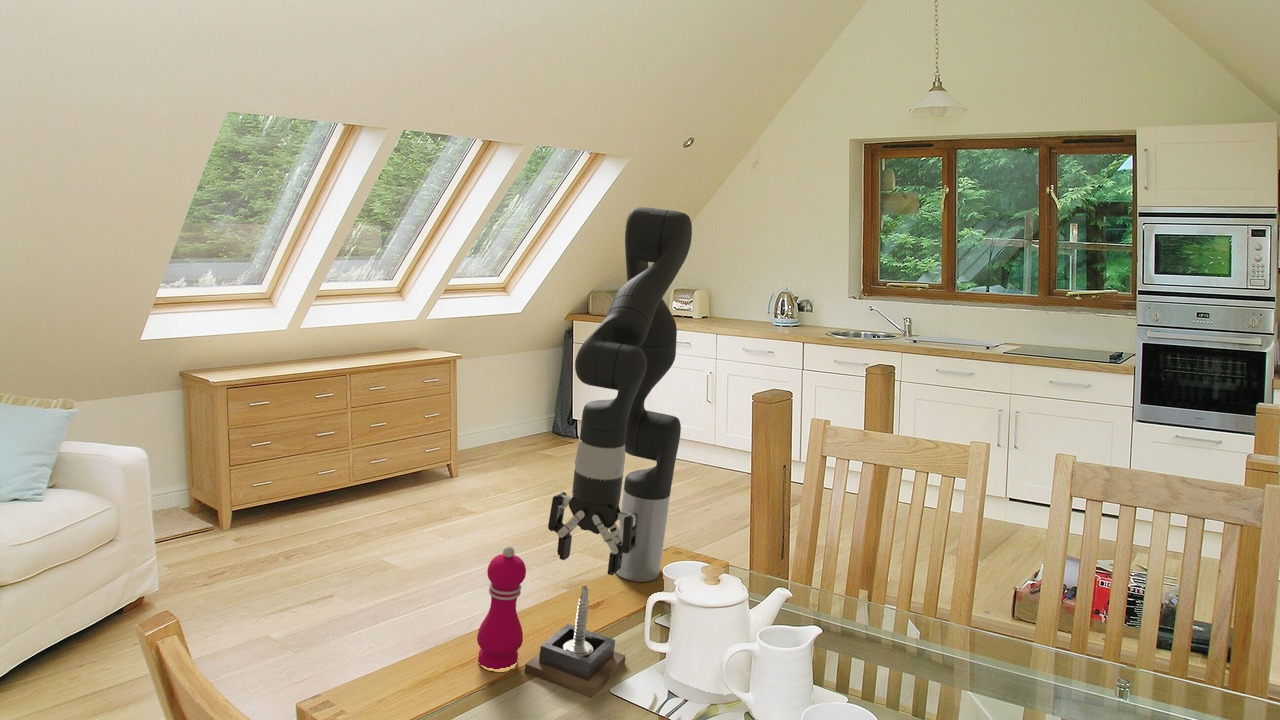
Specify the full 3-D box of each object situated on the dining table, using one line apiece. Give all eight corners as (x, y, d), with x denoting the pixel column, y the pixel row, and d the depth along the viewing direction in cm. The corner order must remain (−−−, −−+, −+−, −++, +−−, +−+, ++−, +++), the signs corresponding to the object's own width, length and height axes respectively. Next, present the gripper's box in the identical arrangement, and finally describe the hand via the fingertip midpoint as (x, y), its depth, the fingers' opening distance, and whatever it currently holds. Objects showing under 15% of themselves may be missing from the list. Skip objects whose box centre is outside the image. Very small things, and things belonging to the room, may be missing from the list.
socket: (565, 639, 161) (567, 623, 160) (613, 656, 157) (615, 640, 157) (538, 662, 153) (540, 645, 152) (588, 681, 149) (590, 663, 149)
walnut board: (561, 641, 163) (562, 633, 163) (624, 663, 158) (625, 655, 158) (524, 672, 152) (525, 663, 152) (591, 697, 148) (592, 688, 147)
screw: (573, 648, 158) (597, 659, 156) (555, 659, 154) (579, 671, 152) (582, 575, 156) (606, 585, 153) (564, 585, 151) (589, 595, 149)
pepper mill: (516, 677, 151) (529, 559, 146) (470, 671, 151) (482, 553, 146) (523, 653, 158) (535, 540, 153) (479, 648, 158) (490, 534, 153)
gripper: (651, 473, 149) (638, 570, 152) (570, 451, 154) (560, 545, 158) (630, 487, 142) (618, 587, 145) (546, 463, 147) (536, 561, 151)
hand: (588, 565), depth 152 cm, fingers open, 8 cm apart
